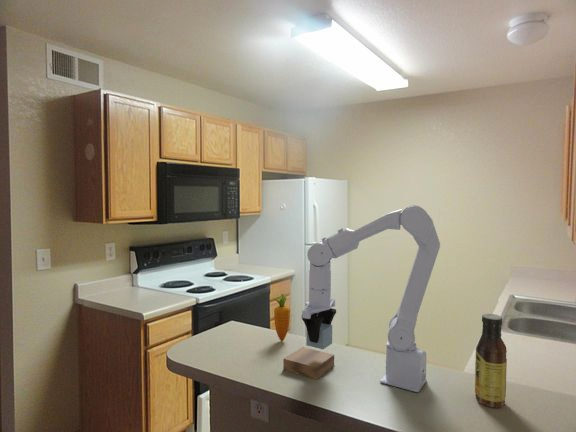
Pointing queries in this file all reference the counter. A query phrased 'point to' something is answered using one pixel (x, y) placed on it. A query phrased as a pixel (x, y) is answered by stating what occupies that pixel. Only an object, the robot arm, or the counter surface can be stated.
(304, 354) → the walnut base
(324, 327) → the slate-blue cube
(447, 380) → the counter surface
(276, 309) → the carrot
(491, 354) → the sauce bottle
